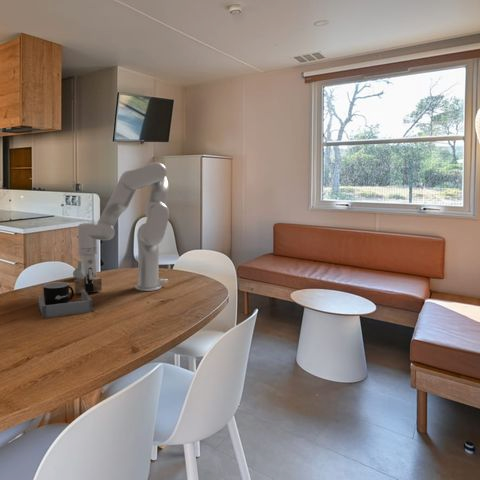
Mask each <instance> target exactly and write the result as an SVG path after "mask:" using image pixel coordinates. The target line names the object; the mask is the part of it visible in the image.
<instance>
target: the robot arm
mask: <svg viewBox="0 0 480 480" xmlns="http://www.w3.org/2000/svg"><path fill="white" fill-rule="evenodd" d="M167 172H168V170H167V167H166V166H165V164H163V162H162V163H161V162H159V161H156V162H150V163H147V164H146V165H144V166H141V167H138V168H135V169H131V170H126V171H124V172H123V173H122V174H121V176H120V177H119V180H118V181H117V184H116V186H115V188H114V191H113V192H112V194H111V196H110V198H109V200H108V202H107V203H106V205H105V207H104V209H103V211H102V213H101V215H100V217H99V219H98V221H97V222H96V224H95V223H90V222H89V223H80V224H79V225H77V237H78V238H77V239H78V241H77V242H78V244H77V245H78V256H80V259H81V269H82V274H83V275H84V279H86V284H85V287H86V292H87V293H93V292H94V291H93V278H96V277H98V275H97V261H96V255H98V254H97V252H98V250H97V241H98V240H100V241H110V240H112V239H113V238H114V237H115V235H116V230H115V228H114V227H115V225H116V223H117V221H118V219H119V218H120V216H121V215H122V214H123V213H124V212H126V210H127V209H128V208H129V206H130V203H131V202H132V199H133V197H134V195H135V193H136V191H137V190H139V189H142V188H145V187H148V186H150V191H149V195H148V199H147V203H146V205H145V209H144V214H145V217H146V221H145V223H142V224H141V225H139V227H138V229H137V234H136V237H137V248H138V251H137V252H138V253H137V256H138V257H137V259H138V260H137V261H138V262H137V263H138V265H137V268H138V271H137V272H138V283H137V284H135V285H134V289H135V290H137V291H141V292H154V291H158V290H160V289H161V288H162V287H163V286H162V284H167V283H169V279H168V278H160V277H159V263H160V262H159V259H160V258H159V256H160V255H159V254H160V253H159V248H160V247H159V244H160V243H161V242H162V241H163V239H164V236H165V234H166V230H167V226H168V223H169V218H170V209H169V207H168V206H167V202H168V197H169V192H170V184H169V180H168V177H167V174H168V173H167ZM93 275H94V277H93ZM88 278H89V279H88Z"/></svg>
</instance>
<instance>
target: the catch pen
mask: <svg viewBox="0 0 480 480" xmlns="http://www.w3.org/2000/svg"><path fill="white" fill-rule="evenodd" d="M80 296H81V300H78V301H69V302H68V303H61V304H53V305H46V304H45V299H44V295H43V294H42V293H39V294H38V307H39V310H40V313H41V316H42V319H48V318H57V317H64V316H70V315H78V314H86V313H92V312H94V311H93V308H94V307H93V299H92V298H91V296H90V295H89V294H88V292H86V291H85V290H84V289H82V290H81V293H80Z"/></svg>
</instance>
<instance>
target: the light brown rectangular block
mask: <svg viewBox="0 0 480 480" xmlns="http://www.w3.org/2000/svg"><path fill="white" fill-rule="evenodd" d="M88 279H89V278H88ZM102 282H103V281H102V278H101V277H100V276H96V277H93V292H102V288H103V287H102ZM73 283H74V285H73V288H74V289H73V291H74V294H81V290H82V289H84V290H85V291H86V287H85V284H86V279H76V278H75V279H74V282H73Z"/></svg>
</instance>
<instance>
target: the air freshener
mask: <svg viewBox="0 0 480 480" xmlns="http://www.w3.org/2000/svg"><path fill="white" fill-rule="evenodd" d="M72 275H73V278H75V279H84V275H83V274H82V269H81V258H80V259H78V260H77V268H75V269H74V270H73V272H72ZM93 278H95V276H94V275H93Z"/></svg>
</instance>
